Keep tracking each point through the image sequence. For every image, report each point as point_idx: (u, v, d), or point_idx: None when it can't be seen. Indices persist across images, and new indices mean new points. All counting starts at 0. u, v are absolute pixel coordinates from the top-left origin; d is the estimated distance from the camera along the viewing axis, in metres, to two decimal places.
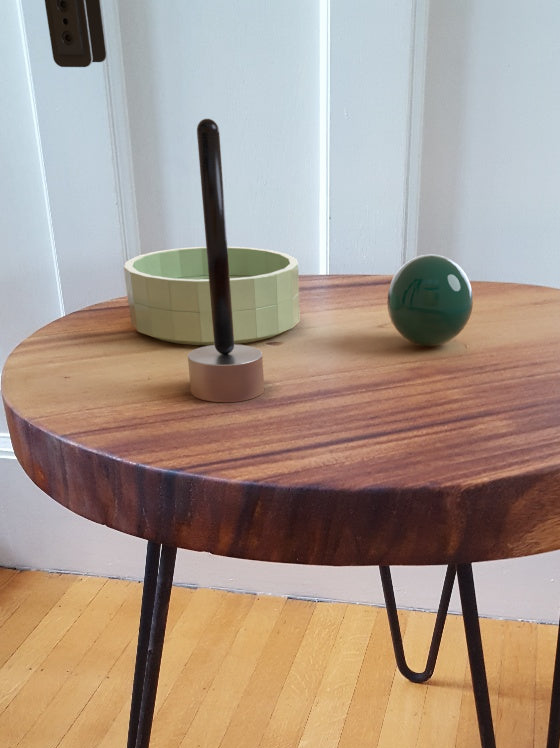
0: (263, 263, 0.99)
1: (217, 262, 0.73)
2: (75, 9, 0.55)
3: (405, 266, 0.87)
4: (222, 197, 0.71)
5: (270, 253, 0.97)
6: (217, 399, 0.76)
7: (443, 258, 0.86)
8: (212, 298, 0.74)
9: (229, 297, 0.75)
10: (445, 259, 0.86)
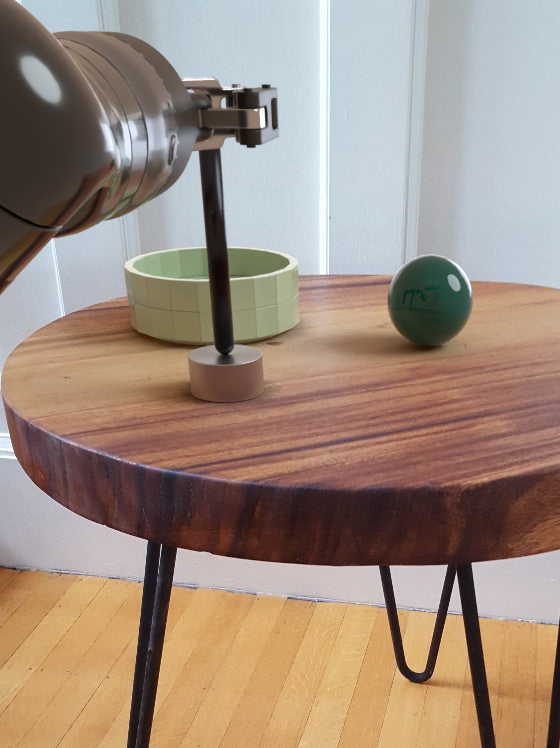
0: (263, 263, 0.99)
1: (217, 262, 0.73)
2: None
3: (405, 266, 0.87)
4: (222, 197, 0.71)
5: (270, 253, 0.97)
6: (217, 399, 0.76)
7: (443, 258, 0.86)
8: (212, 298, 0.74)
9: (229, 297, 0.75)
10: (445, 259, 0.86)
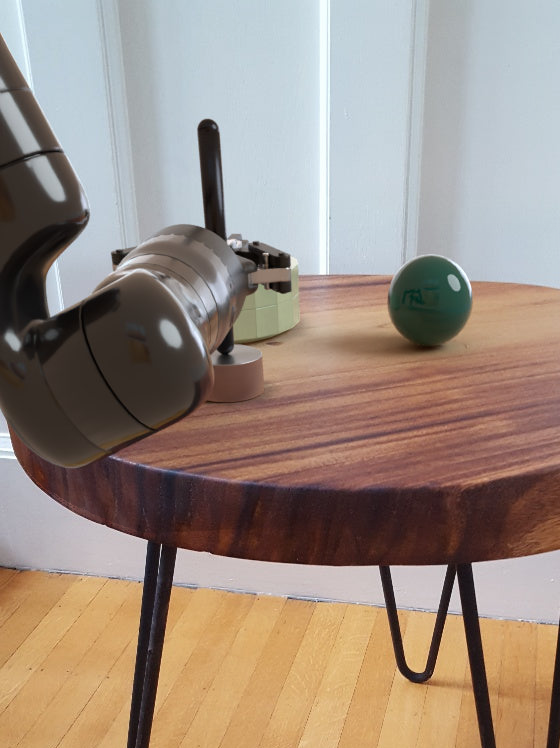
0: None
1: None
2: None
3: (405, 266, 0.87)
4: (222, 197, 0.71)
5: None
6: (217, 399, 0.76)
7: (443, 258, 0.86)
8: None
9: None
10: (445, 259, 0.86)
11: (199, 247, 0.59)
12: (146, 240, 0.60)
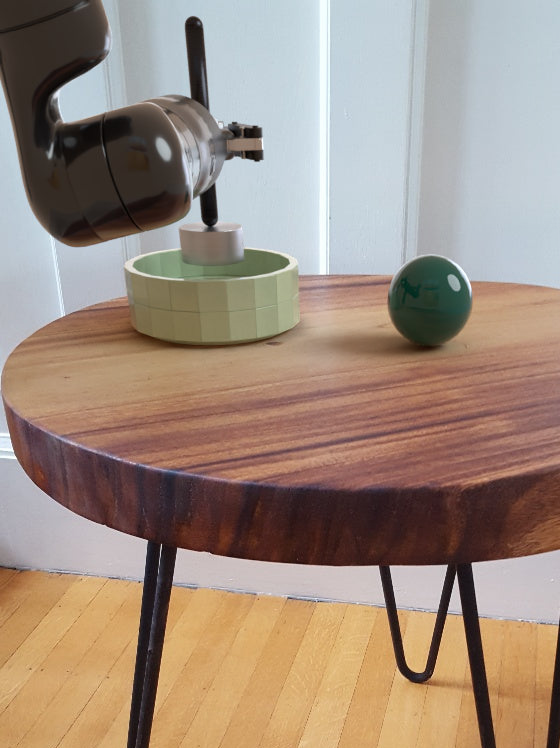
0: (263, 263, 0.99)
1: None
2: None
3: (405, 266, 0.87)
4: (206, 85, 0.84)
5: (270, 253, 0.97)
6: (203, 263, 0.90)
7: (443, 258, 0.86)
8: None
9: None
10: (445, 259, 0.86)
11: (184, 105, 0.72)
12: None
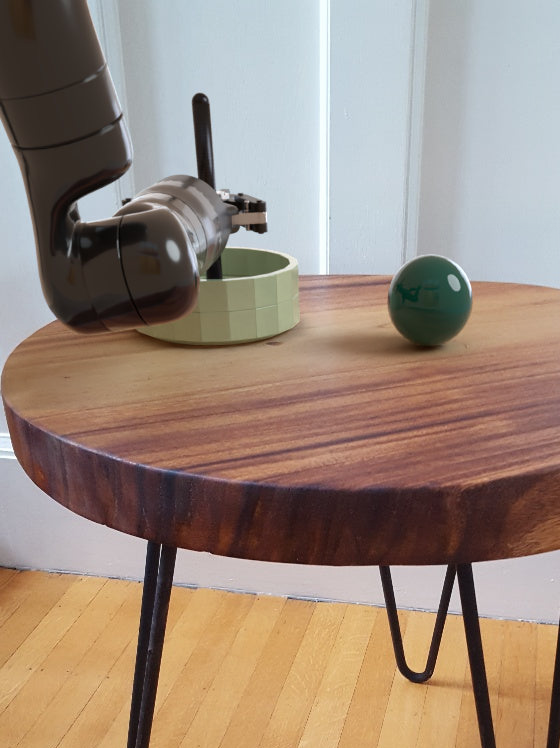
0: (263, 263, 0.99)
1: None
2: None
3: (405, 266, 0.87)
4: (212, 157, 0.87)
5: (270, 253, 0.97)
6: None
7: (443, 258, 0.86)
8: None
9: None
10: (445, 259, 0.86)
11: (192, 190, 0.76)
12: None
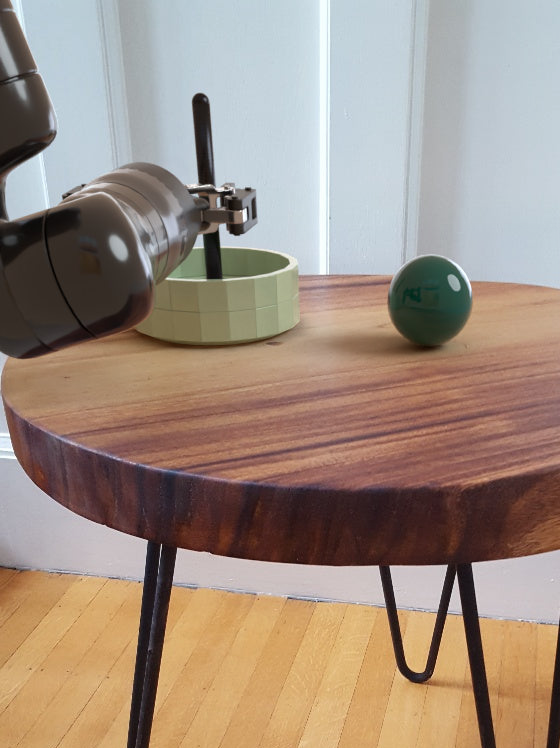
0: (263, 263, 0.99)
1: None
2: None
3: (405, 266, 0.87)
4: (212, 157, 0.87)
5: (270, 253, 0.97)
6: None
7: (443, 258, 0.86)
8: (204, 241, 0.91)
9: (218, 240, 0.91)
10: (445, 259, 0.86)
11: (151, 179, 0.64)
12: None
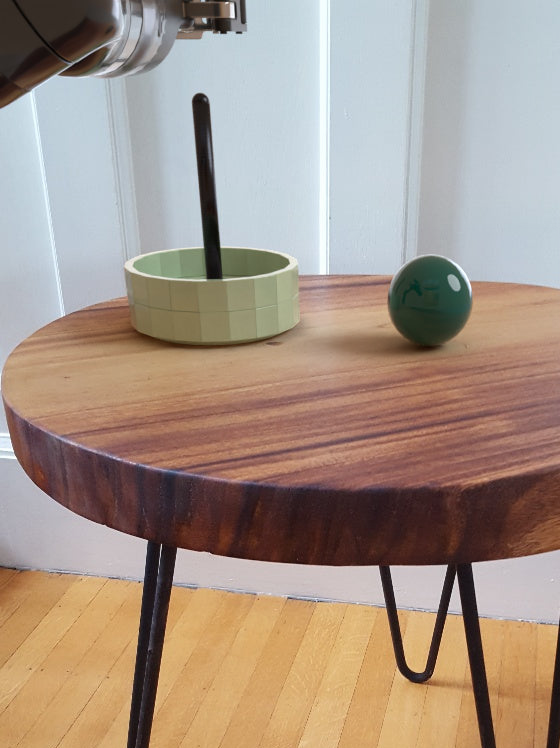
0: (263, 263, 0.99)
1: (208, 210, 0.89)
2: None
3: (405, 266, 0.87)
4: (212, 157, 0.87)
5: (270, 253, 0.97)
6: None
7: (443, 258, 0.86)
8: (204, 241, 0.91)
9: (218, 240, 0.91)
10: (445, 259, 0.86)
11: None
12: None
